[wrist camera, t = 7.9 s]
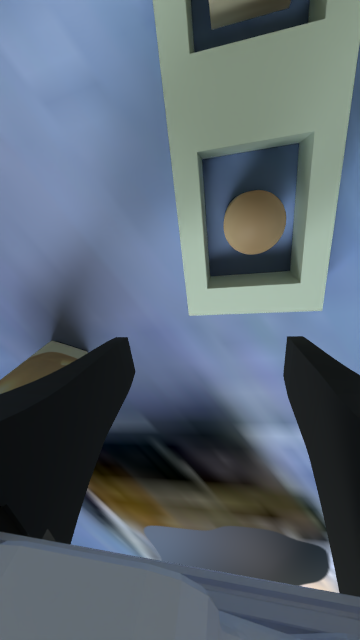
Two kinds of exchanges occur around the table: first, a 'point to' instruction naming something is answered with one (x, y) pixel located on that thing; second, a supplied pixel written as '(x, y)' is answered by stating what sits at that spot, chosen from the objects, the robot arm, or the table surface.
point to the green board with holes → (260, 140)
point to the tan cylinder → (254, 222)
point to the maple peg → (242, 10)
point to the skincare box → (41, 365)
